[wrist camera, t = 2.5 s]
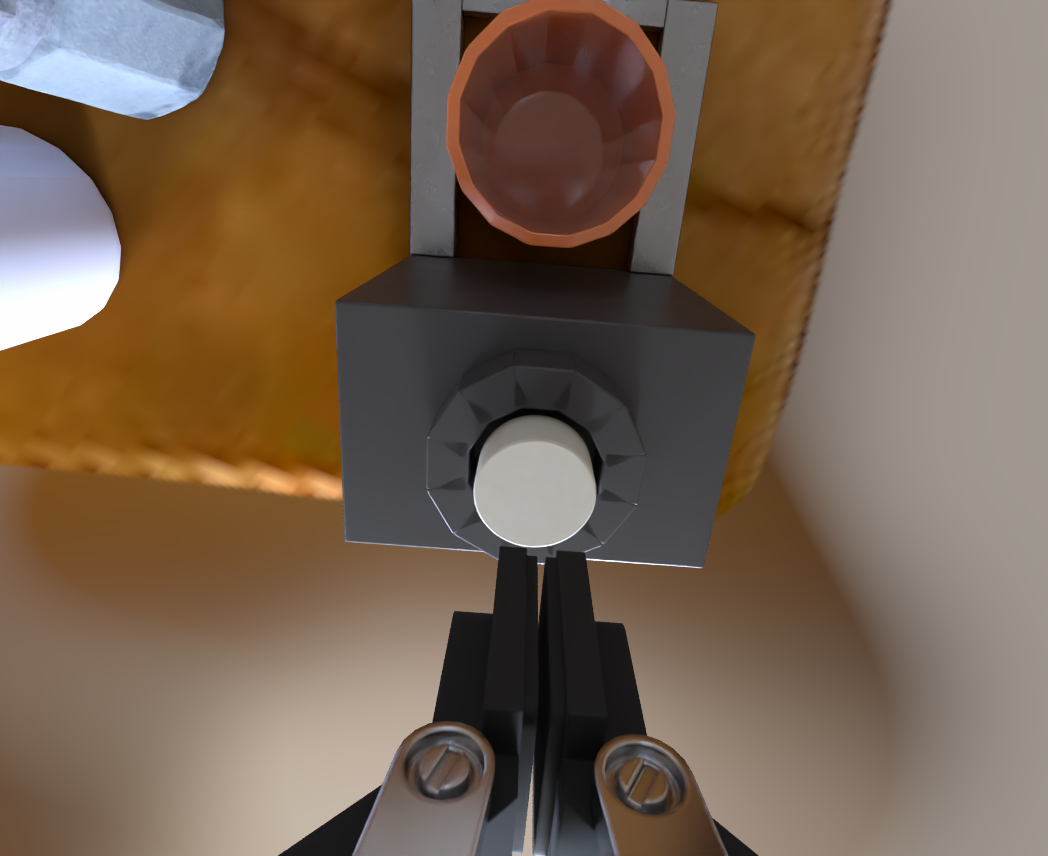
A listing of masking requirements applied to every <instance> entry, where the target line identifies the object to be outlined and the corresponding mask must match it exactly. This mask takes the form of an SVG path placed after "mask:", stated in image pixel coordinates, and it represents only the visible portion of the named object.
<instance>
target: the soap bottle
mask: <svg viewBox="0 0 1048 856" xmlns="http://www.w3.org/2000/svg"><path fill="white" fill-rule="evenodd" d="M120 256H121V245H120V242H119V238H118V234H117V230H116V226H115V223H114V219H113V215H112V212H111V211H110V209H109V207H108V206H107V204H106V202H105V201H104V199H103V197H102V196H101V194H100V192H99V191H98V189H97V187H96V186H95V184H94V182H93V181H92V179H91V178H90V177H89V176H88V175H87V174H86V173H85V172H84V171H82V170H81V169H80V168H79V167H78V166H77V165H76V164H75V163H74V162H73V161H72V160H71V159H70V158H69V157H68V156H67V155H66V154H65V153H64V152H63V151H61V150H60V149H59V148H57V147H55V146H53V145H51V144H49V143H48V142H46V141H44V140H42V139H40V138H38V137H36V136H34V135H32V134H30V133H29V132H27V131H25V130H23V129H21V128H15V127H9V126H2V125H0V350H3V349H6V348H9V347H12V346H16V345H19V344H22V343H25V342H28V341H31V340H35V339H38V338H41V337H44V336H47V335H51V334H54V333H57V332H60V331H63V330H66V329H70V328H73V327H76V326H79V325H81V324H82V323H84V322H85V321H86V320H88V319H89V318H91V317H92V316H93V315H95V314H96V313H97V312H99V311H100V310H102V309H103V308H104V306H105V304H106V303H107V301H108V299H109V297H110V295H111V293H112V291H113V289H114V288H115V286H116V284H117V282H118V280H119V268H120Z"/></svg>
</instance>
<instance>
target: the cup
mask: <svg viewBox="0 0 1048 856" xmlns="http://www.w3.org/2000/svg"><path fill="white" fill-rule="evenodd" d="M674 123H675V108H674V103H673V99H672V94H671V89H670V84H669V79H668V75H667V70H666V66H665V64H664V62H663V60H662V59H661V57H660V56H659V54H658V53H657V51H656V50H655V48H654V47H653V45H652V44H651V42H650V41H649V39H648V38H647V36H646V35H645V33H644V32H643V30H642V29H641V27H640V26H639V24H637V23H636V22H635V21H634V20H632V19H630V18H629V17H627V16H626V15H624V14H622V13H621V12H619V11H617V10H616V9H614V8H613V7H611V6H609V5H608V4H606V3H604V2H603V1H601V0H528V1H526V2H523V3H521V4H518V5H516V6H513V7H511V8H508V9H506V10H503V11H502V12H500V13H499V14H498V15H497V16H496V17H495V19H494V20H493V21H492V22H491V23H490V24H489V25H488V26H487V27H486V28H485V29H484V30H483V31H482V32H481V33H480V34H479V35H478V36H477V37H476V38H475V39H474V40H473V41H472V42H471V43H470V44H469V45H468V47H467V49H466V50H465V53H464V55H463V58H462V60H461V62H460V65H459V67H458V70H457V72H456V75H455V77H454V80H453V82H452V85H451V87H450V90H449V92H448V96H447V130H446V144H447V149H448V152H449V155H450V158H451V161H452V164H453V167H454V170H455V173H456V176H457V179H458V181H459V184H460V187H461V189H462V191H463V193H464V194H465V195H466V196H467V198H468V199H469V200H470V201H471V202H472V204H473V205H474V206H475V207H476V208H477V210H478V211H479V212H480V213H481V214H482V216H483V217H484V218H485V219H486V220H487V222H488V223H489V224H491V225H492V226H493V227H495V228H497V229H499V230H501V231H502V232H504V233H506V234H508V235H510V236H512V237H514V238H516V239H518V240H519V241H521V242H523V243H525V244H529V245H532V246H544V247H557V248H573V247H576V246H579V245H582V244H585V243H588V242H591V241H594V240H597V239H600V238H603V237H606V236H609V235H610V234H613V233H614V232H615V231H616V230H617V229H618V228H620V227H621V226H622V225H623V224H624V223H625V222H627V221H628V220H629V219H630V218H631V217H632V216H634V215H635V214H636V213H637V212H638V211H640V210H641V209H642V208H643V207H644V205H646V203H647V201H648V200H649V198H650V196H651V194H652V192H653V190H654V189H655V187H656V185H657V183H658V181H659V180H660V178H661V176H662V174H663V172H664V170H665V169H666V167H667V163H668V162H669V155H670V149H671V142H672V136H673V129H674Z"/></svg>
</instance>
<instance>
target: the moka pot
mask: <svg viewBox="0 0 1048 856" xmlns="http://www.w3.org/2000/svg"><path fill="white" fill-rule="evenodd" d="M224 32H225V27H224V3H223V0H0V80H1V81H5V82H8V83H11V84H15V85H18V86H21V87H25V88H28V89H32V90H36V91H39V92H43V93H47V94H51V95H55V96H59V97H62V98H66V99H70V100H73V101H77V102H81V103H84V104H87V105H90V106H93V107H97V108H101V109H104V110H108V111H112V112H115V113H119V114H123V115H127V116H131V117H135V118H140V119H145V120H149V119H153V118H156V117H160V116H163V115H166V114H168V113H170V112H173V111H175V110H177V109H179V108H182V107H184V106H186V105H187V104H189V103H190V102H191V101H194V100H196V99H197V98H198V97H199V96H200V95H201V94H202V93H203V91H204V90H205V88H206V87H207V85H208V83H209V81H210V79H211V76H212V74H213V72H214V69H215V67H216V63H217V60H218V57H219V55H220V52H221V50H222V47H223V41H224Z"/></svg>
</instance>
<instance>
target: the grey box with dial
mask: <svg viewBox="0 0 1048 856" xmlns="http://www.w3.org/2000/svg"><path fill="white" fill-rule="evenodd" d="M335 318H336V342H337V366H338V391H339V415H340V439H341V464H342V488H343V512H344V535H345V536H344V537H345V541H346V542H358V543H371V544H384V545H397V546H411V547H424V548H438V549H451V550H465V551H479V552H485V553H487V554H489V555H490V556H492V557H494V558H496V559H497V560H498V559H499V548H500V546H508V547H522V548H527V555H529V556H537V564H545V559H546V557H555V558H556V552H557V550H561V551H575V552H584V553H585V555H586V560H599V561H613V562H626V563H640V564H653V565H667V566H680V567H695V568H703V567H704V563H705V558H706V554H707V549H708V545H709V541H710V536H711V532H712V527H713V523H714V518H715V514H716V510H717V505H718V501H719V496H720V492H721V487H722V483H723V478H724V474H725V470H726V465H727V461H728V456H729V452H730V447H731V443H732V438H733V434H734V430H735V425H736V421H737V416H738V412H739V407H740V403H741V398H742V394H743V390H744V385H745V381H746V376H747V372H748V367H749V363H750V358H751V354H752V350H753V345H754V341H755V334H754V333H753V332H751V331H750V330H748V329H747V328H745V327H744V326H743V325H741V324H740V323H738V322H737V321H735V320H734V319H733V318H731V317H730V316H728V315H727V314H725V313H724V312H722V311H721V310H720V309H718V308H717V307H715V306H714V305H712V304H711V303H710V302H708V301H707V300H705V299H704V298H702V297H701V296H699V295H698V294H697V293H695V292H694V291H692V290H691V289H689V288H688V287H687V286H685V285H684V284H682V283H681V282H679V281H678V280H676V279H675V278H674V277H672V276H666V275H653V274H641V273H631V272H630V271H629V270H619V269H606V268H594V267H582V266H569V265H557V264H545V263H532V262H520V261H508V260H495V259H483V258H471V257H458V256H455V257H454V258H443V257H431V256H419V255H411V256H409V257H407V258H406V259H404V260H402V261H401V262H399V263H397V264H396V265H394V266H393V267H391V268H389V269H388V270H386V271H384V272H383V273H381V274H379V275H378V276H376V277H374V278H373V279H371V280H369V281H368V282H366V283H364V284H363V285H361V286H359V287H358V288H356V289H354V290H353V291H351V292H349V293H348V294H346V295H344V296H343V297H341V298H339V299H338V300H336V301H335ZM527 415H543V416H548V417H552V418H555V419H558V420H560V421H562V422H564V423H566V424H568V425H569V426H570V427H572V428H573V429H574V430H575V431H576V432H577V433H578V434H579V435H580V436H581V437H582V439H583V440H584V442H585V444H586V446H587V448H588V451H589V454H590V458H591V463H592V468H593V473H594V478H595V483H596V502H595V506H594V509H593V512H592V514H591V516H590V517H589V519H588V521H587V522H586V523H585V525H584V526H583V527H582V528H581V529H580V530H579V531H578V532H577V533H575V534H574V535H573V536H571V537H570V538H568V539H566V540H564V541H562V542H560V543H557V544H554V545H550V546H545V547H526V546H520V545H516V544H513V543H510V542H508V541H506V540H504V539H502V538H500V537H499V536H497V535H496V534H494V533H493V532H492V531H491V530H490V529H489V528H488V527H487V526H486V525H485V524H484V522H483V521H482V519H481V518H480V516H479V514H478V512H477V509H476V506H475V502H474V495H473V489H474V482H475V477H476V472H477V467H478V462H479V457H480V453H481V450H482V447H483V445H484V443H485V441H486V440H487V438H488V437H489V436H490V435H491V433H492V432H493V431H494V430H496V429H497V428H498V427H499V426H501V425H502V424H503V423H505V422H507V421H509V420H512V419H514V418H517V417H521V416H527Z"/></svg>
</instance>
